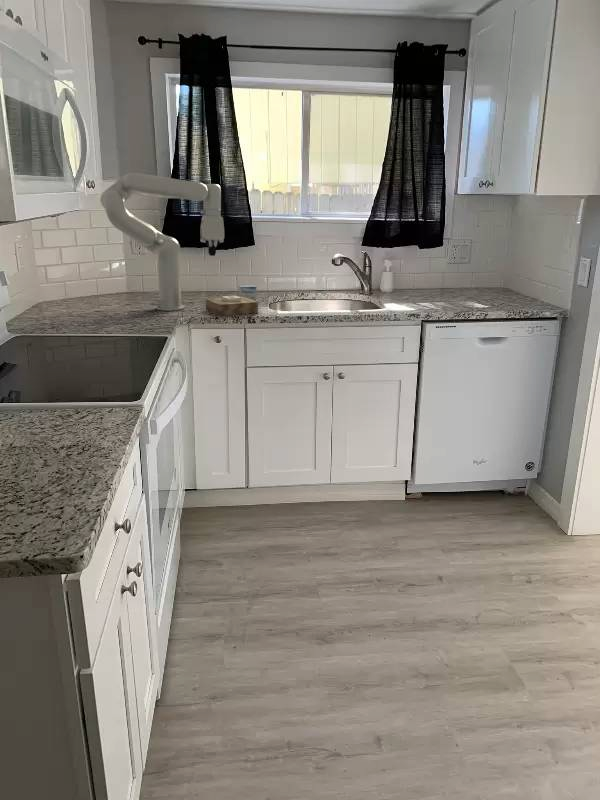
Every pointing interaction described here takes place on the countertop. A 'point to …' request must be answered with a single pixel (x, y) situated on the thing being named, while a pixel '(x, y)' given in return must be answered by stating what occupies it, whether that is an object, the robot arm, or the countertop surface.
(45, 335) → the countertop surface
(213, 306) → the wooden block
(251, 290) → the medicine box
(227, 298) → the button
